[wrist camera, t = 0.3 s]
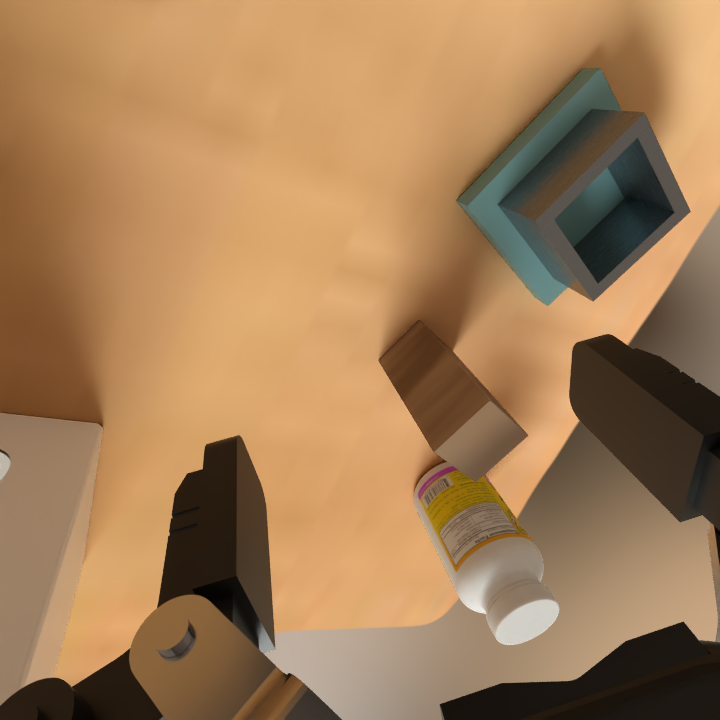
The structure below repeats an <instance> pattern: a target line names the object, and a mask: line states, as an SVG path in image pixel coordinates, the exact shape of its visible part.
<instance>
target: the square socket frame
mask: <svg viewBox="0 0 720 720" xmlns="http://www.w3.org/2000/svg"><path fill="white" fill-rule="evenodd" d="M606 168H608V170H609V172H610V173H611V175H612V177H613V179H614V181H615V182H616V184H617V186H618V188H619V189H620V191H621V193H622V195H623V197H624V199H623V200H622V201H621V202H620V203H619V204H618V205H617V206H616V207H615V208H614V209H613V210H612V211H611V212H610V213H609V214H608V215H606V216H605V217H604V218H603V219H602V220H601V221H600V222H599V223H598V224H597V225H596V226H595V227H594V228H593V229H592V230H591V231H590V232H589V233H588V234H587V235H586V236H585V237H584V238H583V239H581V240H580V241H579V242H578V243H577V244H576V245H575V246H574V247H572V245H571V244H570V242H569V241H568V239H567V238H566V237H565V235H564V234H563V232H562V231H561V229H560V228H559V226H558V225H557V223H556V222H555V221H554V219H555V218H556V217H557V216H558V215H559V214H560V213H561V212H562V211H563V210H564V209H565V208H566V207H567V206H568V205H569V204H570V203H571V202H572V201H573V200H574V199H576V198H577V197H578V196H579V195H580V194H581V193H582V192H583V191H584V190H585V189H586V188H587V187H588V186H589V185H590V184H591V183H592V182H593V181H594V180H595V179H596V178H597V177H598V176H599V175H600V174H601V173H602V172H603V171H604V170H605V169H606ZM498 206H499V207H500V209H501V210H502V211H503V213H504V214H505V215H506V217H507V218H508V219H509V220H510V222H511V223H512V224H513V226H514V227H515V228H516V230H517V231H518V232H519V234H520V235H521V236H522V238H523V239H524V240H525V242H526V243H527V244H528V246H529V247H530V248H531V249H532V251H533V252H534V253H535V255H536V256H537V257H538V259H539V260H540V261H541V263H542V264H543V265H544V267H545V268H546V269H547V271H548V272H549V273H550V275H551V276H552V277H553V278H554V279H555V280H557V281H558V282H560V283H562V284H564V285H565V286H567V287H569V288H571V289H572V290H574V291H576V292H578V293H579V294H581V295H583V296H585V297H586V298H588V299H590V300H592V301H594V300H595V299H596V298H597V297H599V296H600V295H601V294H602V293H603V292H604V291H605V290H606V289H607V288H608V287H609V286H610V285H612V284H613V283H614V282H615V281H616V280H617V279H618V278H619V277H620V276H621V275H622V274H623V273H625V272H626V271H627V270H628V269H629V268H630V267H631V266H632V265H633V264H634V263H635V262H636V261H638V260H639V259H640V258H641V257H642V256H643V255H644V254H645V253H646V252H647V251H648V250H649V249H651V248H652V247H653V246H654V245H655V244H656V243H657V242H658V241H659V240H660V239H661V238H662V237H664V236H665V235H666V234H667V233H668V232H669V231H670V230H671V229H672V228H673V227H674V226H675V225H677V224H678V223H679V222H680V221H681V220H682V219H683V218H684V217H685V216H686V215H687V214H688V213H690V212H691V211H690V209H689V207H688V205H687V203H686V201H685V198H684V196H683V194H682V192H681V190H680V188H679V186H678V183H677V181H676V179H675V177H674V175H673V173H672V171H671V168H670V166H669V164H668V162H667V160H666V158H665V156H664V153H663V151H662V149H661V147H660V145H659V143H658V141H657V139H656V136H655V134H654V132H653V130H652V128H651V126H650V124H649V121H648V119H647V117H646V115H645V113H642V112H629V111H615V110H601V109H591V110H590V111H589V112H588V113H587V114H586V115H585V116H584V117H583V118H582V119H581V120H580V121H579V122H578V123H577V124H576V125H575V126H574V127H573V128H572V129H571V130H570V131H569V132H568V133H567V134H566V135H565V136H564V137H563V138H562V139H561V140H560V141H559V142H558V143H557V144H556V146H555V147H554V148H553V149H552V150H551V151H550V152H549V153H548V154H547V155H546V156H545V157H544V158H543V159H542V160H541V161H540V162H539V163H538V164H537V165H536V166H535V167H534V168H533V169H532V170H531V171H530V172H529V173H528V174H527V175H526V176H525V177H524V178H523V179H522V180H521V181H520V182H519V183H518V184H517V185H516V186H515V187H514V188H513V189H512V190H511V191H510V192H509V193H508V194H507V195H506V196H505V197H504V198H503V200H502V201H501V202H500V203H499V204H498Z"/></svg>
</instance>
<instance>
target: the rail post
mask: <svg viewBox="0 0 720 720" xmlns="http://www.w3.org/2000/svg"><path fill="white" fill-rule="evenodd" d="M379 362H380V364H381V366H382V367H383V369H384V371H385V372H386V374H387V376H388V377H389V379H390V381H391V382H392V384H393V386H394V387H395V389H396V390H397V392H398V394H399V395H400V397H401V399H402V400H403V402H404V404H405V405H406V407H407V409H408V410H409V412H410V414H411V415H412V417H413V419H414V420H415V422H416V423H417V425H418V427H419V428H420V430H421V432H422V433H423V435H424V437H425V438H426V440H427V442H428V443H429V445H430V447H431V448H432V450H433V452H434V453H436V454H437V455H439V456H440V457H441V458H443V459H444V460H445V461H447V462H448V463H450V464H451V465H452V466H454V467H455V468H456V469H458V470H459V471H461V472H462V473H463V474H465V475H466V476H468V477H469V478H470V479H472V480H473V481H474V482H476V481H477V480H479V479H480V478H481V477H482V476H483V475H484V474H485V473H487V472H488V471H489V470H490V469H491V468H492V467H493V466H494V465H496V464H497V463H498V462H499V461H500V460H501V459H502V458H503V457H505V456H506V455H507V454H508V453H509V452H510V451H511V450H513V449H514V448H515V447H516V446H517V445H518V444H519V443H520V442H522V441H523V440H524V439H525V438H526V437H527V436H528V434H527V433H526V432H525V431H524V430H523V429H522V428H521V427H520V426H519V424H518V423H517V422H516V421H515V420H514V419H513V418H512V417H511V416H510V414H509V413H508V412H507V411H506V410H505V409H504V408H503V407H502V406H501V404H500V403H499V402H498V401H497V400H496V399H495V398H494V397H493V396H492V394H491V393H490V392H489V391H488V390H487V389H486V388H485V387H484V386H483V384H482V383H481V382H480V381H479V380H478V379H477V378H476V377H475V376H474V374H473V373H472V372H471V371H470V370H469V369H468V368H467V367H466V366H465V364H464V363H463V362H462V361H461V360H460V359H459V358H458V357H457V356H456V354H455V353H454V352H453V351H452V350H451V349H450V348H449V347H448V346H446V345H445V344H444V343H443V342H442V341H441V340H440V339H439V338H438V337H437V336H436V335H435V334H434V333H433V332H431V331H430V330H429V329H428V328H427V327H426V326H425V325H424V324H423V323H422V322H421V321H420V320H419V321H418V322H417V323H416V324H415V325H414V326H413V327H412V328H411V329H410V330H409V331H408V332H407V333H406V334H405V335H404V336H403V337H402V338H401V339H400V340H399V341H398V342H397V343H396V344H395V345H394V346H393V347H392V348H391V349H390V350H389V351H388V352H387V353H386V354H385V355H384V356H383V357H382V358H381V359H380V360H379Z"/></svg>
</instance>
